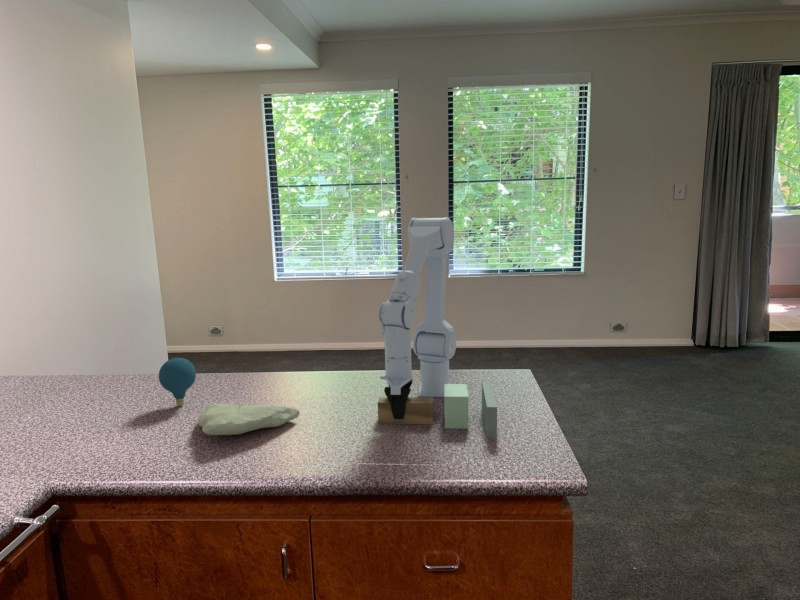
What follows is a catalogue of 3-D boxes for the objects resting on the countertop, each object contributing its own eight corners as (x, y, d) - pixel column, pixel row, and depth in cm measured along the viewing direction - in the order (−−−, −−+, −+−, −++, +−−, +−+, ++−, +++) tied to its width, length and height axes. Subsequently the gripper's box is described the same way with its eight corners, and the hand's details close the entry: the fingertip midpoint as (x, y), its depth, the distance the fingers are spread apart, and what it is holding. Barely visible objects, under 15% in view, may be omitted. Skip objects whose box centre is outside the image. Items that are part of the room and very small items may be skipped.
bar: (380, 418, 121) (379, 396, 120) (433, 418, 120) (433, 397, 119) (378, 424, 117) (377, 402, 117) (433, 425, 116) (432, 403, 115)
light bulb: (173, 414, 126) (168, 365, 123) (155, 407, 131) (150, 359, 128) (205, 404, 132) (201, 356, 130) (186, 397, 137) (182, 352, 135)
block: (444, 414, 122) (444, 384, 121) (466, 414, 121) (466, 384, 120) (444, 428, 114) (444, 396, 113) (468, 428, 113) (468, 396, 112)
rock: (209, 421, 127) (154, 441, 108) (210, 395, 127) (155, 410, 108) (304, 428, 122) (263, 450, 103) (304, 401, 122) (264, 418, 103)
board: (481, 410, 124) (481, 381, 123) (490, 410, 124) (490, 381, 123) (486, 440, 108) (487, 407, 107) (496, 440, 108) (497, 407, 107)
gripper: (383, 346, 124) (385, 402, 126) (375, 365, 109) (377, 427, 112) (414, 346, 123) (415, 403, 125) (409, 365, 109) (411, 428, 111)
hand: (399, 414), depth 118 cm, fingers closed on bar, 3 cm apart
